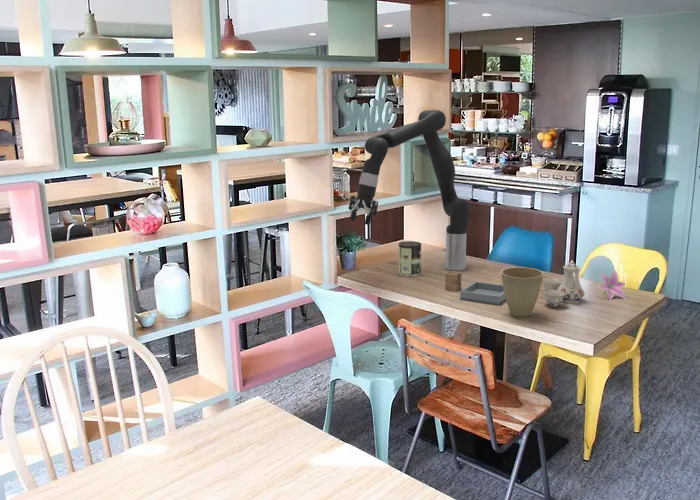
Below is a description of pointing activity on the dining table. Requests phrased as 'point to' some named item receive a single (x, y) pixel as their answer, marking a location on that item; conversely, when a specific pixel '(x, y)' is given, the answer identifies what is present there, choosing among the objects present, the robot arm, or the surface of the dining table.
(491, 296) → the grey tray
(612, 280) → the lily
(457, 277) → the walnut block
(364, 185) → the robot arm
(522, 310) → the plant pot
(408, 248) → the coffee can
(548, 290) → the chinaware
